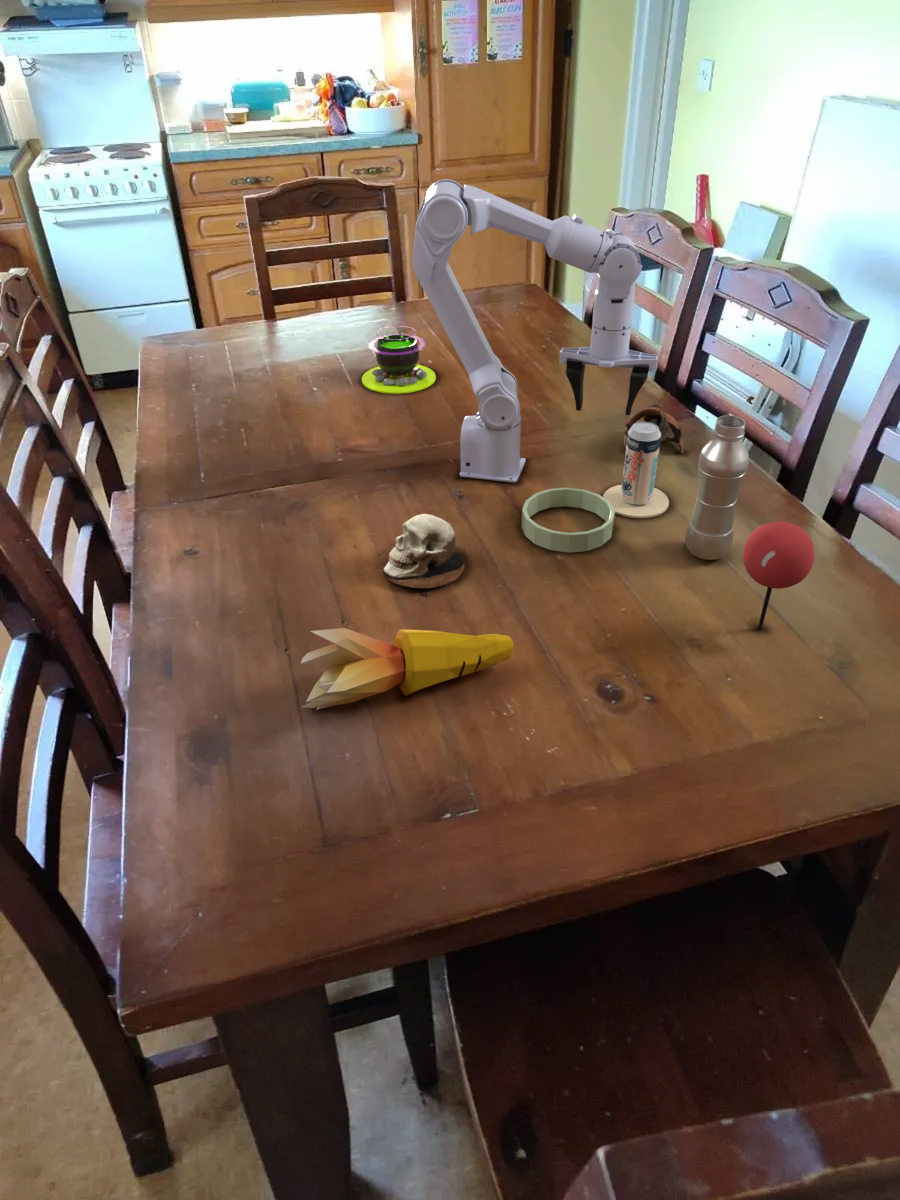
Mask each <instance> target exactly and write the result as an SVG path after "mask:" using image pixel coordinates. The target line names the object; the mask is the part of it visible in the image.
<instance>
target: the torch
mask: <svg viewBox="0 0 900 1200" xmlns="http://www.w3.org/2000/svg"><path fill="white" fill-rule="evenodd" d="M310 632H311V633H313V634H315V635H317V636H319V637H320V638H323V639H325V640H327V641H329V642H331V643H333V644H329V645H326V646H324V647H321V648H318V649H315V650H312V651H309V652H307V653H306V654H305V655H304V656H303V657H302V658H301V661H300V664H301V665H310V666H318V667H319V668H322V669H323V670H325V671H324V672H323V673H322V675H321V676H320V677H319V678H318V680H317V682H316V683H315V684H314V686H313V688H312V690H311V691H310V693H309V695H308V697H307V699H306V701H305V702H306V704H304V705H302V706H301V708H306V709H309V708H311V709H315V708H316V711H318V710H322V709H327V708H330V707H333V706H338V705H344V704H350V703H351V704H352V703H354V702H357V701H360V700H364V699H366V698H369V697H372V696H375V695H378V694H382V693H385V692H387V691H389V690H390V689H392V688H394V687H395V686H397V685H398V686H399V689H400V691H401V692H402V694H403V695H404V696H408V695H411V694H413V693H416V692H418V691H421V690H422V689H426V688H428V687H431V686H434V685H438V684H441V683H443V682H447V681H449V680H453V679H456V678H458V677H459V676H460V677H464V676H466V675H469V674H472V673H475V672H478V671H481V670H484V669H487V668H490V667H492V666H495V665H498V664H500V663H503V662H506V661H508V660H509V659H511V657H512V655H513V654H514V650H515V645H514V641H513V640H512V638H511V636H509V635H505V634H504V635H503V634H497V633H486V634H477V635H470V634H465V633H454V632H447V631H440V630H427V629H426V630H425V629H398V630H397V633H396V635H395V639H394V642H393V644H390V643H388V642H385V641H383V640H381V639H377V638H374V637H371V636H368V635H366V634H363V633H361V632H357V631H354V630H352V629H349V628H346V627H340V628H330V629H328V628H327V629H318V630H310Z"/></svg>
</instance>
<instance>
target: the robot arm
mask: <svg viewBox="0 0 900 1200" xmlns="http://www.w3.org/2000/svg"><path fill="white" fill-rule="evenodd" d="M468 226H470V235H473V234H474V235H475V234H477V233H479V232H482V231H484V230H488V229H490V228H493V229H496V230H499V231H502V232H505V233H508V234H510V235H514V236H517V237H520V238H524V239H526V240H529V241H532V242H534V243H538V244H541V245H543V246H544V247H545V250H546V254H547V255H548V257H549V258H550V259H553V260H556V261H558V262H561V263H564V264H566V265H568V266H571V267H574V268H576V269H579V270H581V271H583V272H584V271H585V272H586V273H589V274H597V277H596V289H595V291H594V298H593V311H592V321H591V322H592V323H591V334H590V346H584V347H583V346H581V347H564V346H563V347H561V349H560V351H559V365H566V366H565V369H564V370H565V371H564V372H565V375H566V377H567V379H568V382H569V384H570V387H571V390H572V393H573V396H574V402H575V410H576V411H579V412H581V410H582V408H583V403H584V380H585V372H586V365H589V366H598V367H600V368H609V369H611V368H624V369H631V372H630V376H629V389H628V397H627V401H626V402H627V403H626V407H625V416H631V413H632V408H633V406H634V403H635V400H636V398H637V396H638V394H639V393H640V390H641V389H642V387H643V386H644V384H645V383H646V381H647V379H648V376H649V372H651V373H656V372H657V369H658V361H659V354H652V353H646V352H641V351H638V350H632V349H630V343H631V342H630V340H631V334H632V333H631V331H632V324H633V323H632V322H633V314H634V304H635V296H636V295H635V287H636V281H637V279H638V278H639V277H640V275H641V272H642V269H643V264H642V261H641V255H640V253H639V251H638V249H637V248H636V245H635V244H634V242H633V241H632V239H630V238H629V237H628V236H626V235H624V234H623V233H622V232H619V231H614V230H613V229H610V228H607V229H606V230H603V229H601V228H598V227H595V226H593V225H591V224H588V223H586V222H584V217H583V216H581V215H579V214H576V213H574V214H573V216H572V217H571V216H568V215H563V216H561V217H558V218H556V219H554V220H551V219H549V218H547V217H544V216H542V215H540V214H538V213H536V212H533V211H531V210H529V209H527V208H524V207H522V206H520V205H517V204H515V203H513V202H511V201H509V200H506V199H505V198H502V197H500V196H497V195H496V194H493V193H492V192H488V191H486V190H484V189H481V188H478V187H476V186H474V185H470V184H463V185H461V184H460V183H459V182H457V181H455V180H453V179H449V178H444V179H440V180H437V181H435V182H434V183H432V184H431V185H430V186H429V187H428V188H427V190H426V192H425V195H424V197H423V200H422V202H421V204H420V206H419V209H418V213H417V219H416V221H415V228H414V242H413V253H412V262H411V264H412V269H413V272H414V274H415V277H416V278H417V280H418V282H419V284H420V287H422V289H423V291H424V294H425V295H426V297H427V299H428V301H429V302H430V305H431V306H432V309H433V310H434V313H435V314H436V316H437V318H438V320H439V322H440V324H441V325H442V327H443V329H444V331H445V333H446V335H447V337H448V338H449V340H450V343H451V344H452V346H453V348H454V350H455V352H456V354H457V355H458V357H459V359H460V361H461V363H462V365H463V367H464V369H465V370H466V373H467V374H468V378H469V381H470V384H471V387H472V391H473V394H474V395H475V397H476V399H477V403H478V412H476V413H475V415H466V416H465V417H464V419H463V421H462V424H461V429H460V440H459V441H460V442H459V443H460V446H459V447H460V472H459V477H462V478H470V479H479V480H485V481H496V482H502V483H503V482H504V483H512V484H515V483H517V482H518V480H519V478H520V475H521V473H522V471H523V468H524V467H525V464H526V461H527V460H526V458H525V457H521V437H522V435H521V434H522V433H521V431H522V415H521V414H520V413H521V406H520V401H519V395H518V390H519V384H518V381H517V378H516V377H515V375H514V374H513V373H512V372H510V371H509V370H508V369H506V368H505V366H504V365H503V364H502V362H501V360H500V359H499V358H498V356H497V355H496V354H495V353H494V351H493V349H492V347H491V345H490V343H489V341H488V339H487V337H486V335H485V333H484V331H483V329H482V327H481V325H480V323H479V322H478V320H477V318H476V315H475V314H474V311H473V310H472V307H471V306H470V304H469V301H468V299H467V298H466V297H467V296H466V295H465V293H464V292H463V290H462V287H461V286H460V284H459V282H458V280H457V277H456V276H455V274H454V271H453V270H452V268H451V266H450V264H449V260H450V256H451V254H452V251H453V247H454V246H455V245H456V244H457V243H458V241H459V240H460V238H461V237H462V236H463V235H464V233H465V231H466V229H467V227H468Z"/></svg>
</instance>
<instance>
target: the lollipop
mask: <svg viewBox="0 0 900 1200" xmlns="http://www.w3.org/2000/svg"><path fill="white" fill-rule="evenodd" d="M742 559H743V565H744V569H745V570H746V573H747V574H748V576H749V577H750V578H751V579H752V580H753V581H754V582H756V583H757V584H759V585H761V586H762V587H765V588H767V589H766V593H765V596H764V601H763V605H762V609H761V613H760V617H759V622H758V626H757V627H756V630H757V631H763V625H764V621H765V618H766V614H767V611H768V606H769V603H770V599H771V594H772V590H773V589H777V590H778V589H779V590H780V589H787V588H792V587H793V586H796V585H798V584H799V583H801V582H802V581H803V580H805V578H806V577H808V575H809V574H810V572H811V570H812V568H813V566H814V562H815V547H814V544H813V541H812V539H811V537H810V535H809V534H808V533H807V531H805V530H804V529H803V528H802V527H800V526H798V525H797V524H794V523H792V522H788V521H779V520H778V521H770V522H766V523H764V524H762V525H760V526H758V527H756V528H755V529H754V530H753V531H752V532H751V533H750V534H749V536H748V537H747V539H746V541H745V543H744V546H743V554H742Z"/></svg>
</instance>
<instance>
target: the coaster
mask: <svg viewBox="0 0 900 1200" xmlns="http://www.w3.org/2000/svg"><path fill="white" fill-rule="evenodd" d="M621 488H622V483H621V484H618V485H614V486H611V487H609V488H608V489H607V490H606V491H605V492H604V493H603V496H602V497H603V498H605V499H606V500H608V501H609V502H610V503H611V505H612V507H613V508H614V510H615V515H619V516H620V517H626V518H630V519H650V518H655V517H657V516H660V515H662V514H664V513H665V512H666V511H668V509H669V505H670V500H669V497H668V496H667V494H665V493H664V492H663V491H662V490H660V489H658V488H656V487H654V490H653V497H652V500H651V501H650V502H649V503H646V504H643V505H632V504H629V503H627V502H626V501H624V500H623V499H622V498H621Z"/></svg>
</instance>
